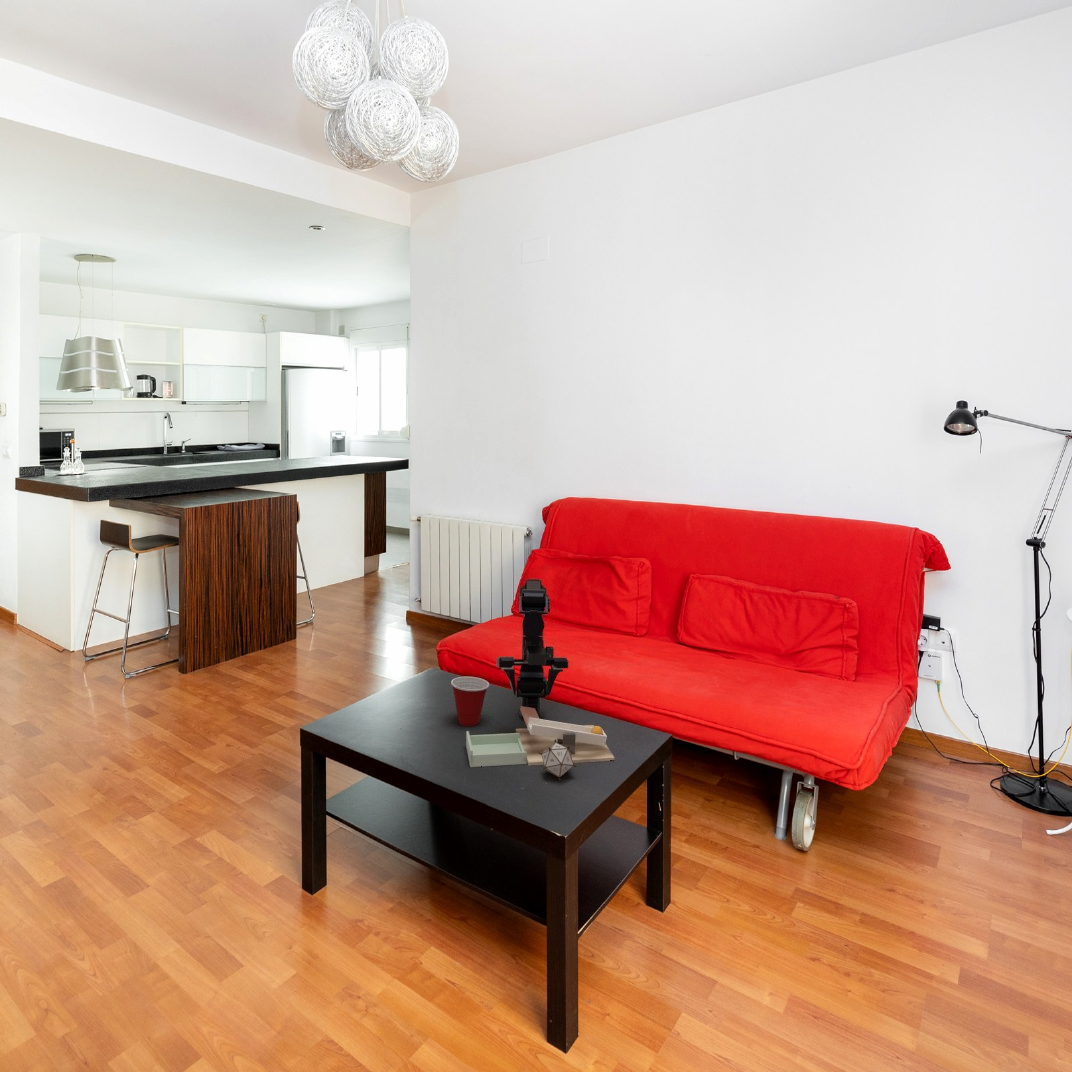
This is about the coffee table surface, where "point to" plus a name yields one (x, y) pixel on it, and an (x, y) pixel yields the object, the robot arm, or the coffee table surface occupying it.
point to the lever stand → (579, 749)
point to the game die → (557, 759)
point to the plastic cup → (469, 698)
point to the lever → (559, 728)
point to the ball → (597, 730)
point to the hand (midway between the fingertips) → (531, 695)
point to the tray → (495, 749)
